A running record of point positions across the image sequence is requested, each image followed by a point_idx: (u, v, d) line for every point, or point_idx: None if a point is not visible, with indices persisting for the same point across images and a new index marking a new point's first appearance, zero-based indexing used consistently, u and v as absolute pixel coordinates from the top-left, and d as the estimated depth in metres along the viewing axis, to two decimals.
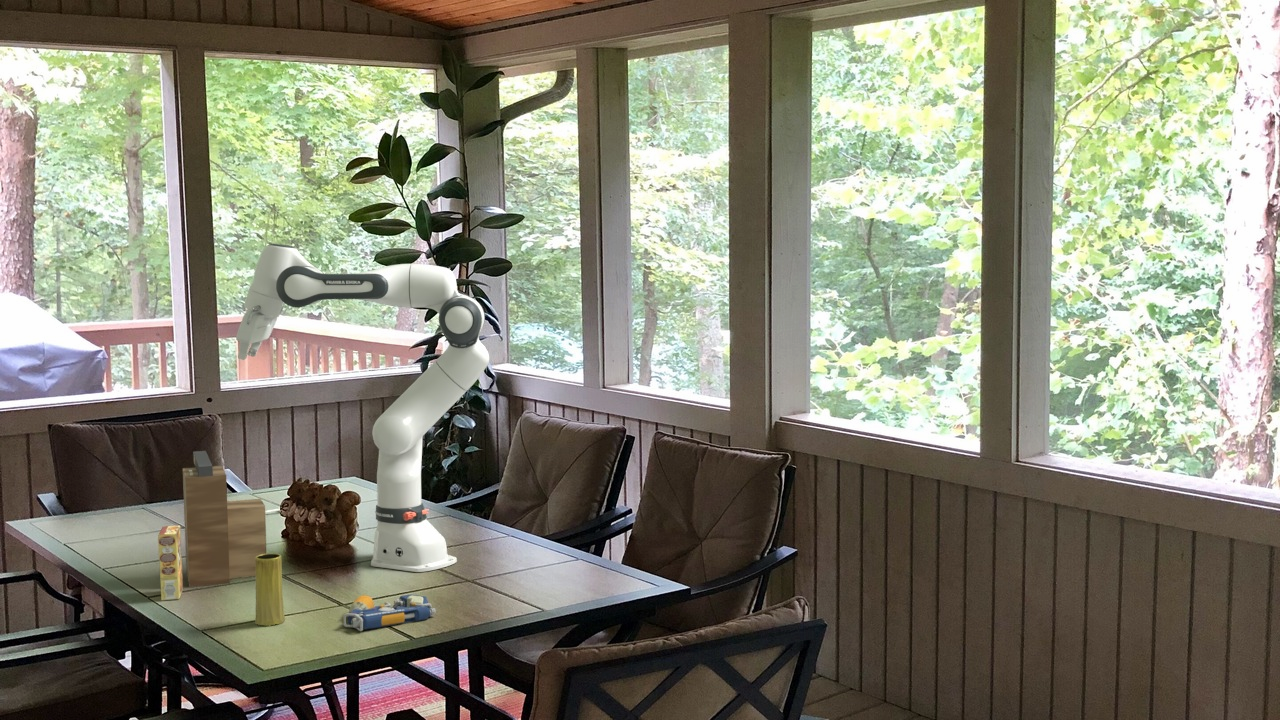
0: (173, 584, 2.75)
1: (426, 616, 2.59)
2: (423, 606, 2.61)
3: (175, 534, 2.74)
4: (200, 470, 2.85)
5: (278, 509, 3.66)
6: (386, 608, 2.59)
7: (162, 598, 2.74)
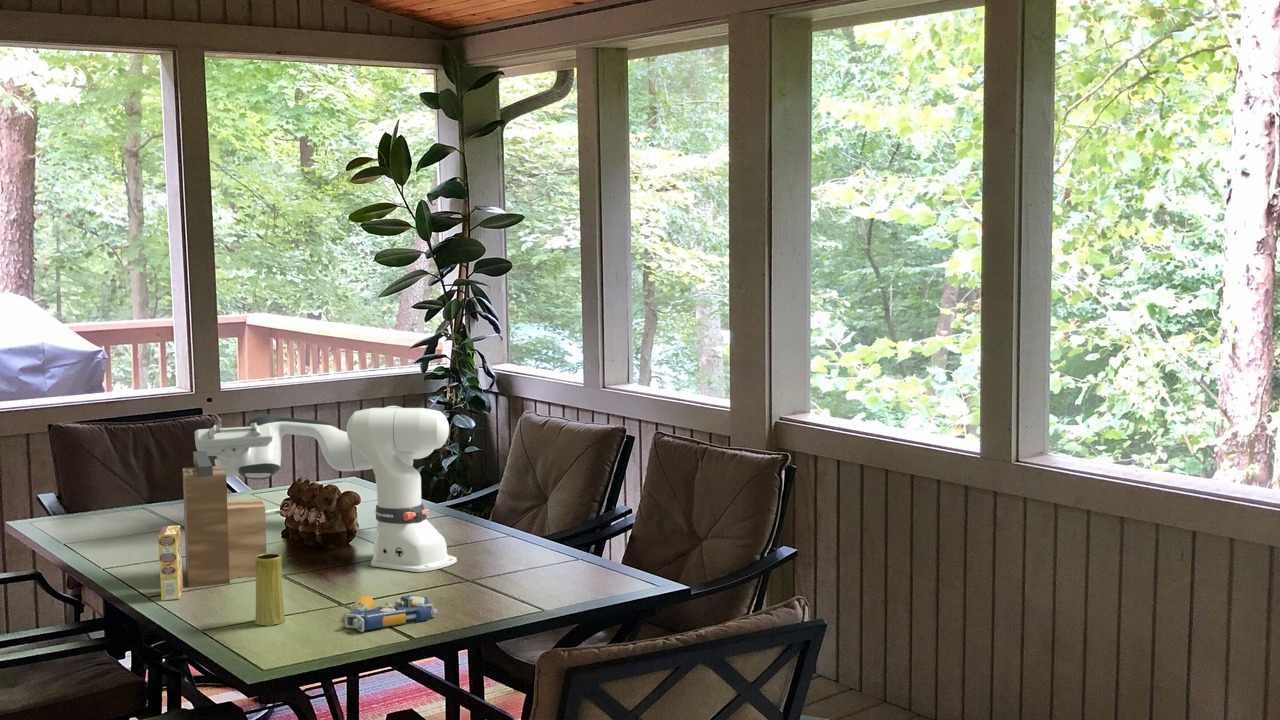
0: (173, 584, 2.75)
1: (427, 617, 2.59)
2: (424, 607, 2.60)
3: (175, 534, 2.74)
4: (200, 470, 2.85)
5: (277, 509, 3.66)
6: (387, 609, 2.58)
7: (162, 598, 2.74)
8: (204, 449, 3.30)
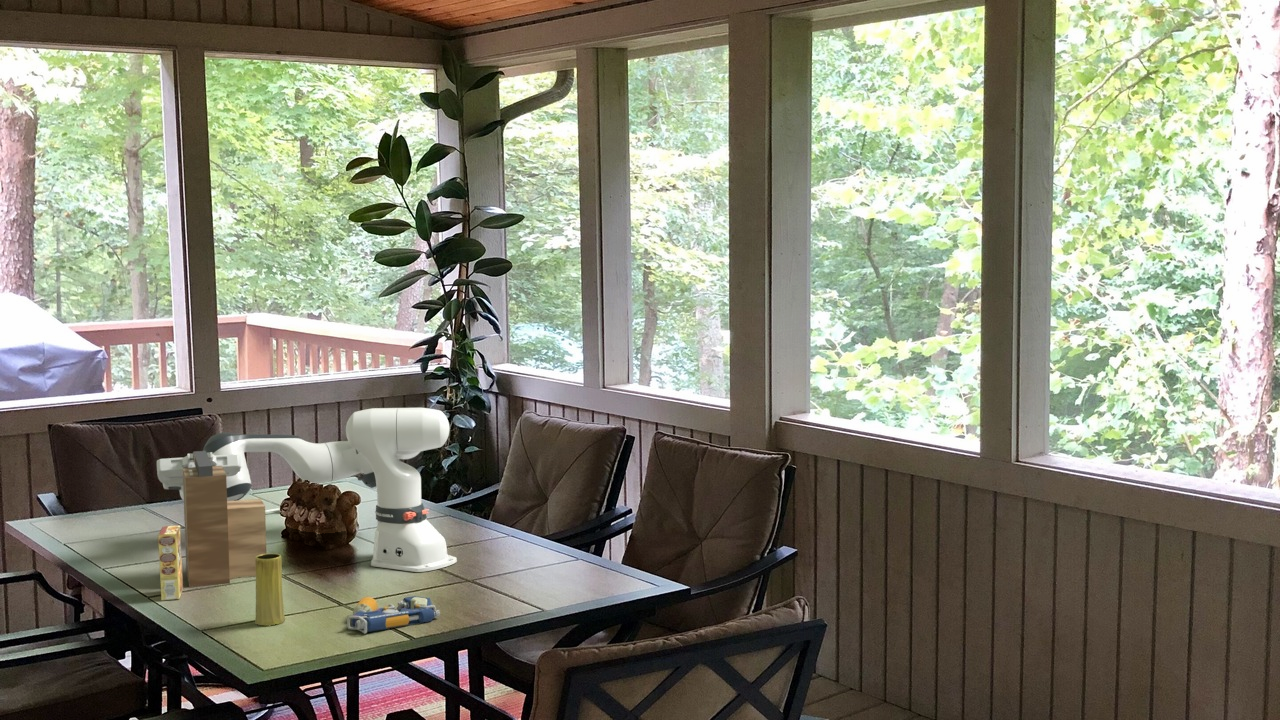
0: (173, 584, 2.75)
1: (430, 618, 2.58)
2: (427, 608, 2.59)
3: (175, 534, 2.74)
4: (200, 470, 2.85)
5: (275, 509, 3.66)
6: (390, 610, 2.57)
7: (162, 598, 2.74)
8: (167, 479, 3.09)
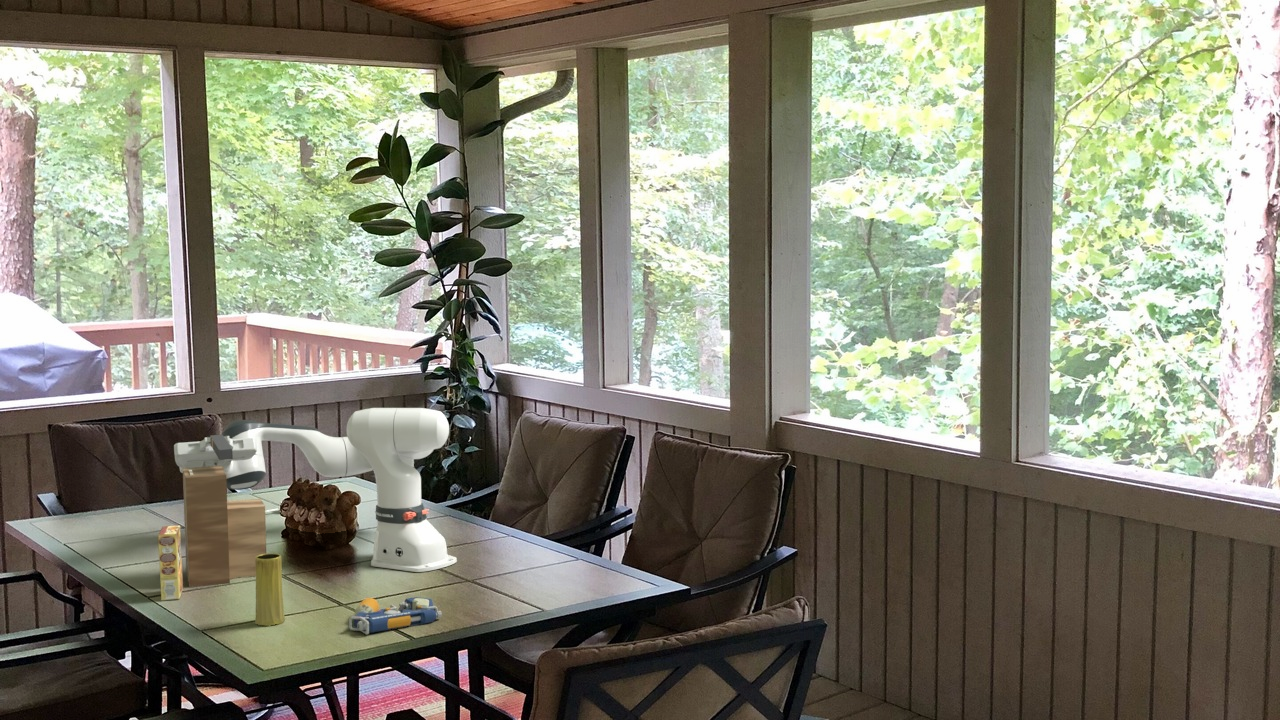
0: (173, 584, 2.75)
1: (432, 619, 2.57)
2: (429, 609, 2.59)
3: (175, 534, 2.74)
4: (220, 453, 2.89)
5: (274, 509, 3.66)
6: (392, 611, 2.57)
7: (162, 598, 2.74)
8: (184, 463, 3.13)
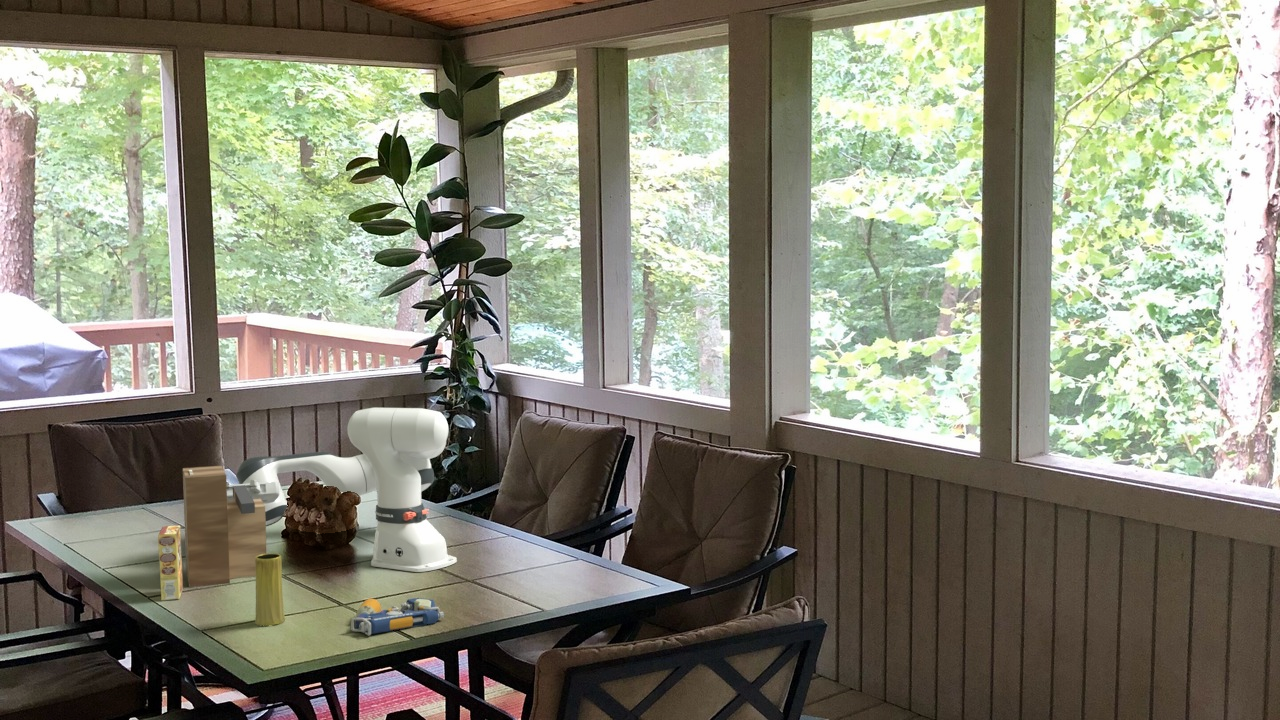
0: (173, 584, 2.75)
1: (434, 620, 2.57)
2: (431, 610, 2.58)
3: (175, 534, 2.74)
4: (242, 507, 2.86)
5: None
6: (394, 612, 2.56)
7: (162, 598, 2.74)
8: None
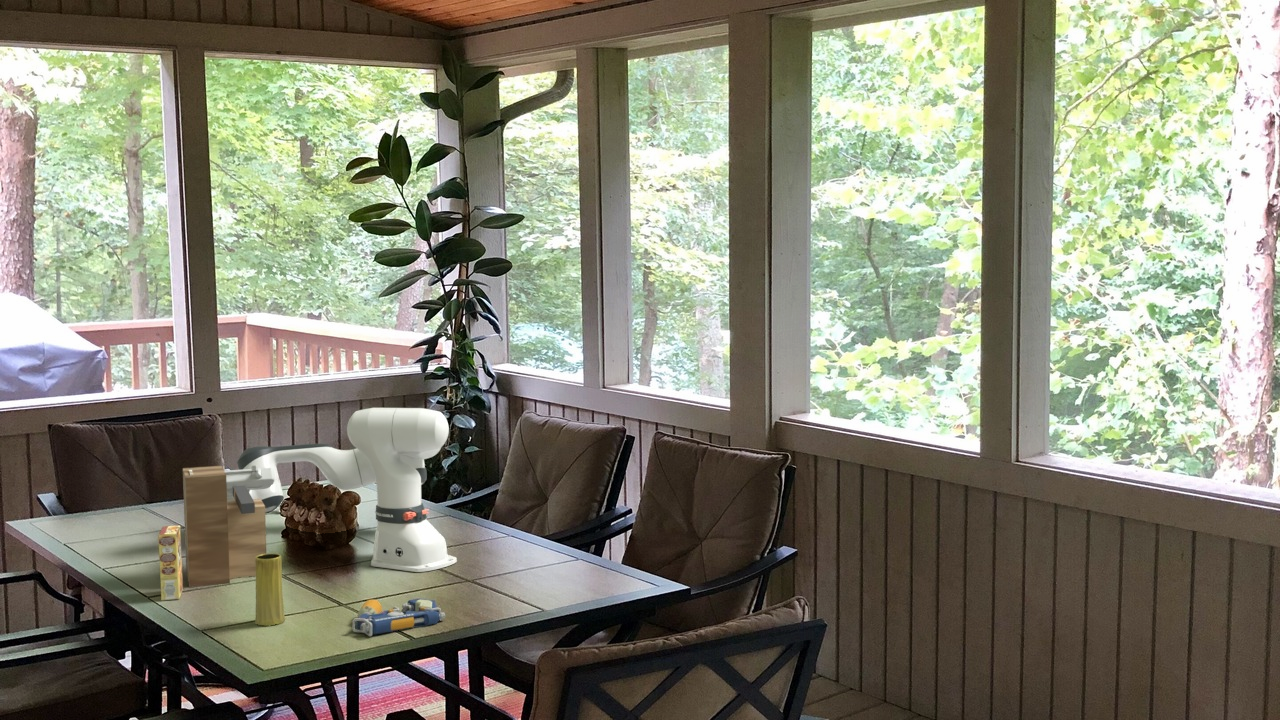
0: (173, 584, 2.75)
1: (436, 620, 2.56)
2: (432, 610, 2.57)
3: (175, 534, 2.74)
4: (242, 507, 2.86)
5: None
6: (395, 613, 2.56)
7: (162, 598, 2.74)
8: None
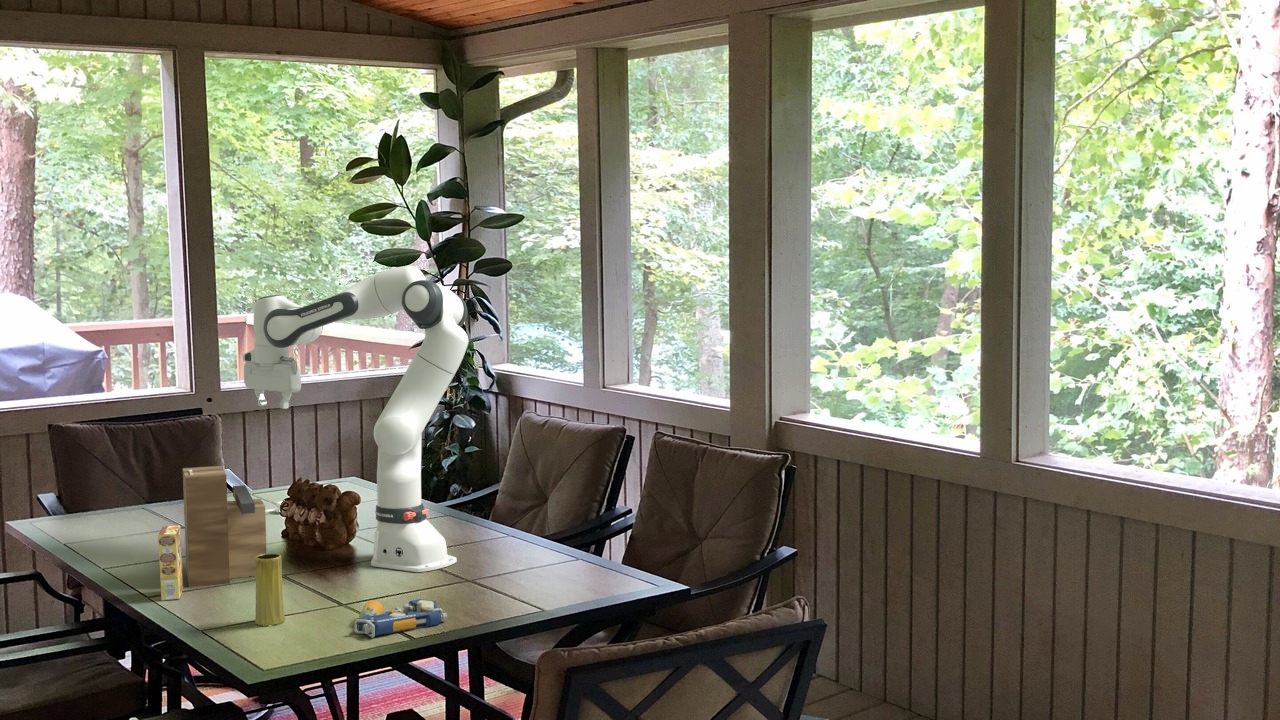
0: (173, 584, 2.75)
1: (438, 621, 2.56)
2: (434, 611, 2.57)
3: (175, 534, 2.74)
4: (242, 507, 2.86)
5: (270, 510, 3.65)
6: (397, 613, 2.55)
7: (162, 598, 2.74)
8: None
